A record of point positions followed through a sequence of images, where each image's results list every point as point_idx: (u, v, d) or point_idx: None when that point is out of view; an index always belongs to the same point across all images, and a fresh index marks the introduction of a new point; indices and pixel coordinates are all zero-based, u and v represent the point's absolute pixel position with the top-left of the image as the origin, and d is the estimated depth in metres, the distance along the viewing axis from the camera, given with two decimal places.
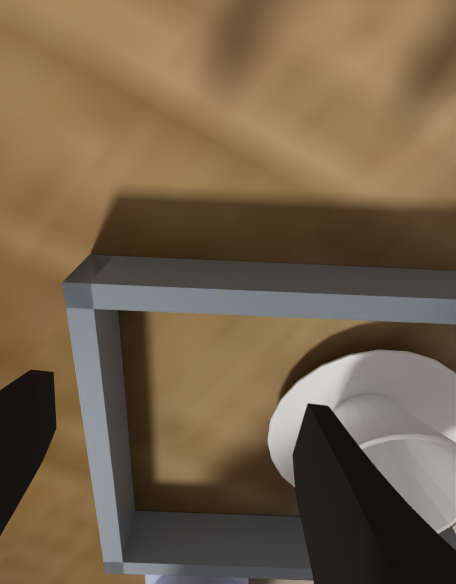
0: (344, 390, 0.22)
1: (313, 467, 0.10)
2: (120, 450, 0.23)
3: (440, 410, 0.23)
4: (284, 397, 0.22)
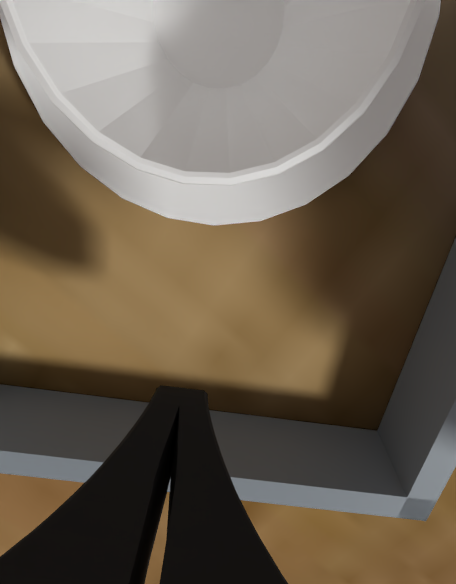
0: None
1: (174, 451, 0.10)
2: None
3: None
4: (113, 190, 0.13)
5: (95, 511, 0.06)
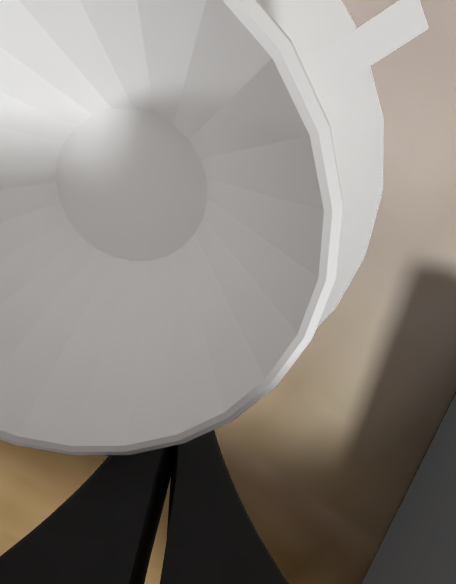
0: None
1: (175, 452, 0.10)
2: None
3: None
4: None
5: (95, 511, 0.06)
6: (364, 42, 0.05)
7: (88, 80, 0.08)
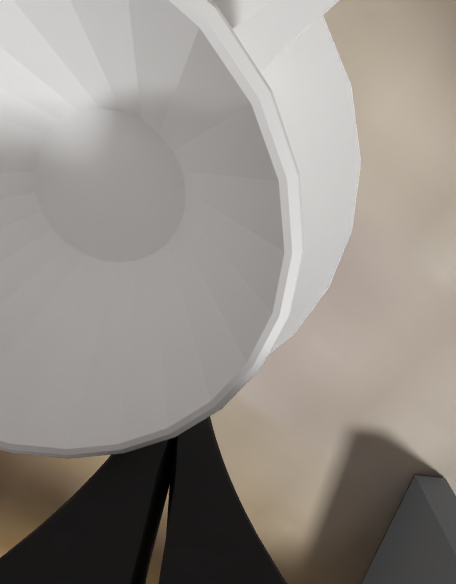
0: None
1: (174, 451, 0.10)
2: None
3: None
4: None
5: (96, 511, 0.06)
6: (298, 0, 0.05)
7: (47, 84, 0.08)
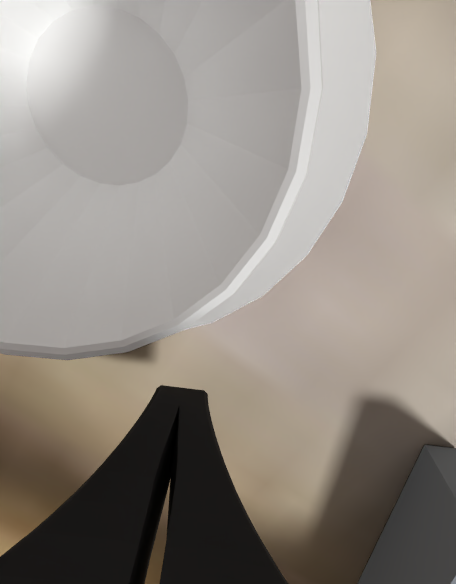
0: None
1: (174, 451, 0.10)
2: None
3: None
4: None
5: (95, 511, 0.06)
6: None
7: None
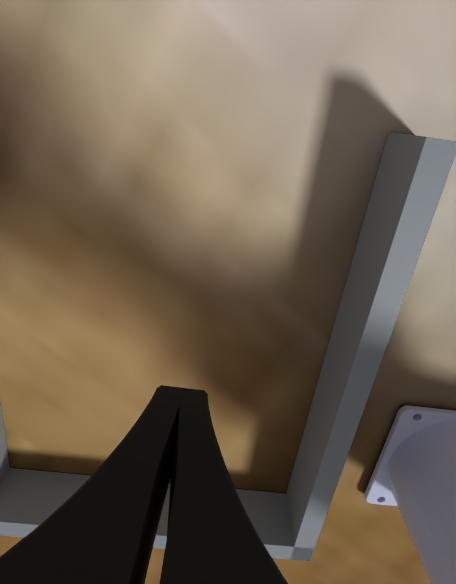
0: None
1: (174, 451, 0.10)
2: (164, 508, 0.24)
3: None
4: None
5: (95, 511, 0.06)
6: None
7: None
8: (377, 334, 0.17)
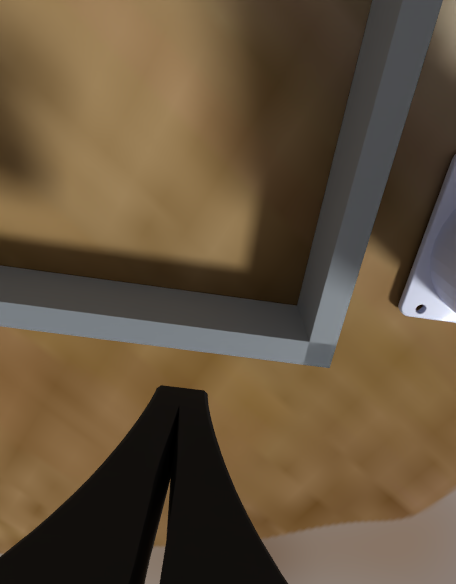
0: None
1: (174, 451, 0.10)
2: (137, 301, 0.18)
3: None
4: None
5: (95, 511, 0.06)
6: None
7: None
8: None
